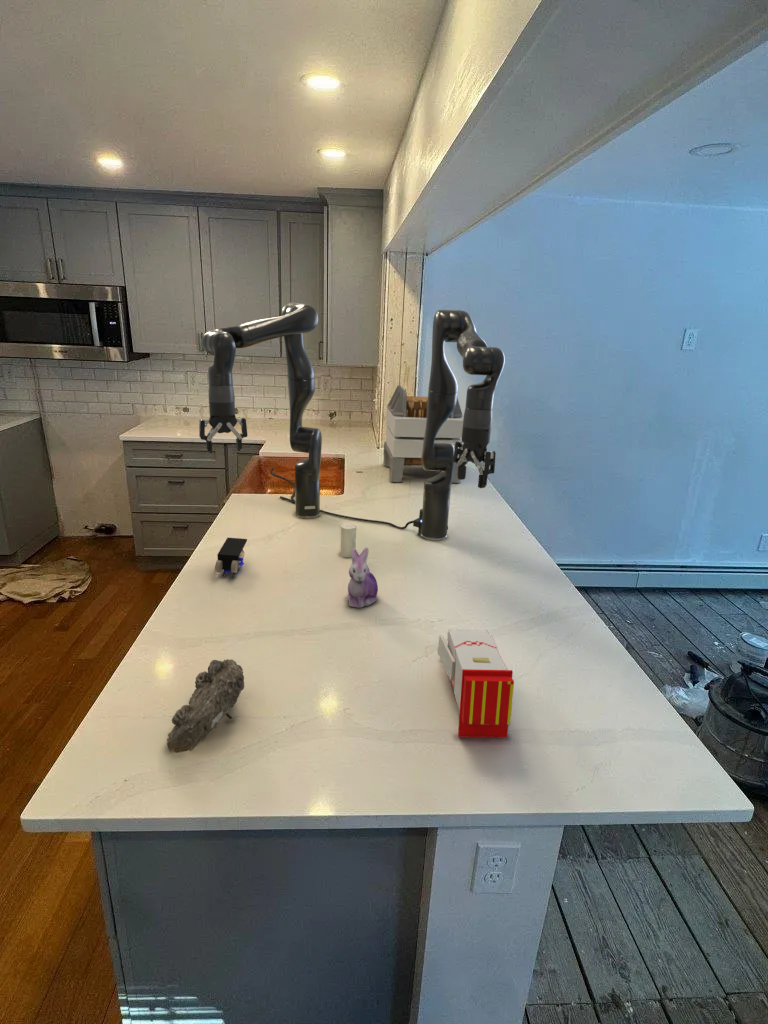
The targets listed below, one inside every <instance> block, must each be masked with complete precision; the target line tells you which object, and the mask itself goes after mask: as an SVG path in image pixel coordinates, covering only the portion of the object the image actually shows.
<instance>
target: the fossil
mask: <svg viewBox="0 0 768 1024" xmlns="http://www.w3.org/2000/svg"><path fill="white" fill-rule="evenodd" d="M243 670H244V669H243V667H242V665H240V664H237V662H236V661H235V660H234V659H232V658H231V659H227V658H226V659H224V660H223V661H222V660H217V659H212V660H211V661H210V663H209V665H208V666H207V671H201V672H199V673H198V674H197V675H196V676H195V680H194V684H195V685H194V687H195V689H194V690H193V693H192V694H191V697H190V698H189V700H188V704H184V705H182V706H181V707H180V709H177V710H176V711H175V713H174V715H173V716H172V718H171V723H172V724H173V727H172V730H171V731H170V732H168V734H167V738H166V741H167V742H166V745H167V749H168V750H169V751H173V752H174V753H176V754H178V753H182V752H188V751H189V752H192V751H193V750H195V748H196V747H197V746H199V744H200V743H201V742H203V741H204V740H205V739H206V738H207V737H208V736H209V735H210V734H211V733H212V732H214V730H215V729H217V727H218V726H219V724H220V722H221V721H222V720H223V719H224V718H225V716H226V717H227V719H229V720H233V717H232V715H230V714H229V710H230V709H231V708H234V706H235V704H236V703H237V702H238V699H239V697H240V695H241V693H242V691H243V690H245V689H244V688H245V675H244V671H243Z"/></svg>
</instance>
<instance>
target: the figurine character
mask: <svg viewBox="0 0 768 1024" xmlns="http://www.w3.org/2000/svg"><path fill="white" fill-rule="evenodd" d="M247 542H248V538H240V537H226V539H225V541H224V543H223V544H222V546H221V547H220V549H219V551H218V552H217V560H216V562H215V564H214V572H215V573H221V577H222V578H224V577H225V576H226V574H227V573H230V574H231V573H232V574H231V578H234V577H235V575H236V573H237V572H239V571H240V567H242V566H243V565H244V564H245V562H244V558H245V551H244V547H245V546H246V544H247Z"/></svg>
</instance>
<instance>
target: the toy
mask: <svg viewBox="0 0 768 1024" xmlns="http://www.w3.org/2000/svg"><path fill="white" fill-rule="evenodd" d="M446 640H447V643H446V641H445V639H444V636H443V635H442V634H439V637H438V646H437V656H438V657H439V659H440V661H441V663H442V666H443V668H444V670H445V672H446V674H447V677H448V679H449V681H450V684H451V687H452V690H453V693H454V697H455V701H456V705H457V708H458V711H459V714H458V715H459V716H458V730H457V731H458V732H457V737H458V738H508V731H509V726H510V725H511V717H512V707H513V697H514V696H513V695H514V684H515V680H514V679H513V673H514V671H513V670H512V669H508V667H507V665H506V662H505V661H504V659H503V658H502V655H501V653H500V651H499V649H498V647H497V643H496V639H495V637H494V635H493V634H491V632H490V631H489V629H467V628H466V629H465V628H463V629H461V628H460V629H459V628H448V630H447V639H446Z"/></svg>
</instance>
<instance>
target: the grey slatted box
mask: <svg viewBox="0 0 768 1024" xmlns="http://www.w3.org/2000/svg"><path fill="white" fill-rule="evenodd" d="M407 394H408V393H407V390H406V389H404V388H403V387H402V385H399V384H398V385H397V386H396V388H395V390H394V392H393V394H392V395H391V398H390V400H389V402H388V404H387V405H386V413H385V414H386V415H385V423H386V428H385V438H384V442H383V466H384V467H388V468H389V475H388V476H389V477H388V478H389V480H390V482H391V483H402V482H403V475H404V469H405V466H406V467H407V466H411V467H412V466H413V467H415V466H416V467H417V466H418V467H422V464H421V455H422V448H423V441H424V435H425V428H426V418H427V402H428V396H415V395H414V396H413V395H412V396H411V395H407ZM462 429H463V411H462V408H461V405H460V402H459V398H458V397H457V401H456V407H455V409H454V411H453V412H452V414H451V415H450V416H449V418H448V419H447V420H446V421H445V422H444V424H443V425H442V426H441V428H440V429H439V431H438V433H437V435H436V438H435V441H434V443H449V444H452V445H453V446H454V449H455V443H456V442H459V441H462ZM458 458H459V454H458ZM439 473H441V471H439ZM457 474H458V466H457V463H456V462H454V467H453V474H452V483H451V484H455V483H456V484H459V483H461V480H459V479H458V475H457Z"/></svg>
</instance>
